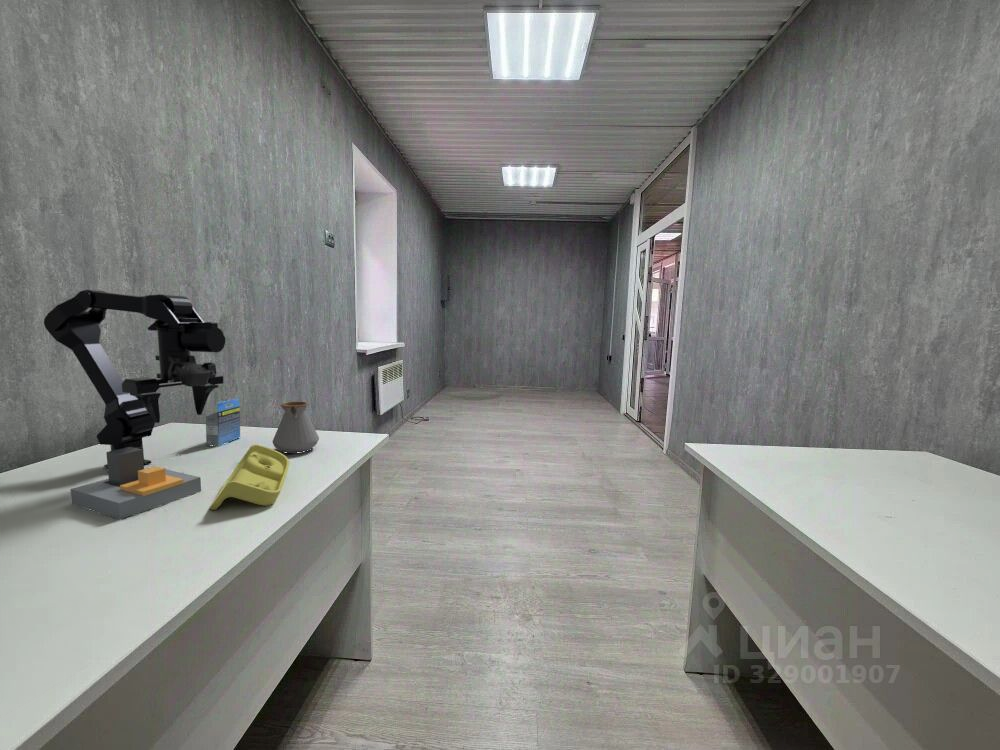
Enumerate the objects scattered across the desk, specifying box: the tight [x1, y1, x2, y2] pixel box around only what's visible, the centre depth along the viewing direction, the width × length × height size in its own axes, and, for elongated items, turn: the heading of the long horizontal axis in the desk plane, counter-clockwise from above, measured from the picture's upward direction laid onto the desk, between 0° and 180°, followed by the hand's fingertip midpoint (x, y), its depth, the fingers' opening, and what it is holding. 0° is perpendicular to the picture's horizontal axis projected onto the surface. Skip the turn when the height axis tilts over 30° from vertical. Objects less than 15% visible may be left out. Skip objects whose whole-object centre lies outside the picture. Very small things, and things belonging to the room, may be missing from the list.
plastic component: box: [208, 443, 290, 511], centre depth 89 cm, size 20×7×10 cm
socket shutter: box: [120, 465, 184, 496], centre depth 82 cm, size 7×7×3 cm
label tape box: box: [205, 397, 241, 447], centre depth 122 cm, size 9×4×12 cm, turn 174°
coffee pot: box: [272, 401, 320, 453], centre depth 112 cm, size 21×12×15 cm, turn 24°
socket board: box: [70, 465, 202, 520], centre depth 84 cm, size 15×14×3 cm
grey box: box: [106, 447, 145, 487], centre depth 85 cm, size 4×4×9 cm
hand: (179, 418), depth 99 cm, fingers open, 9 cm apart
